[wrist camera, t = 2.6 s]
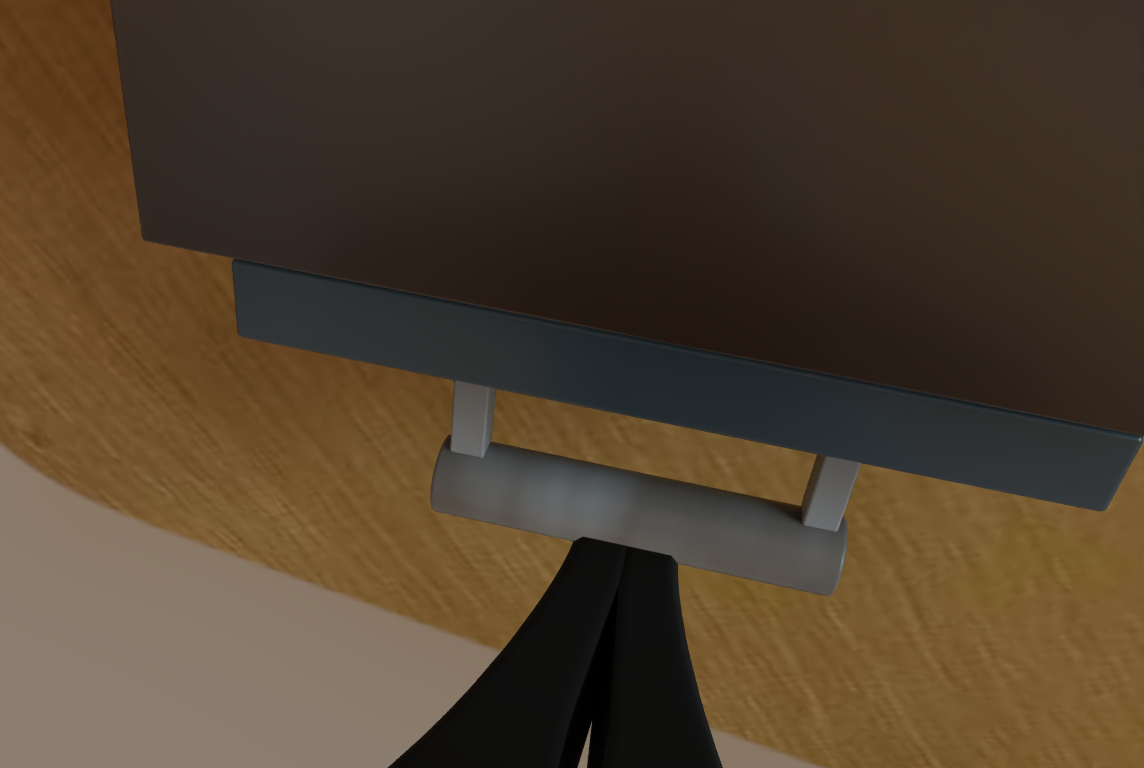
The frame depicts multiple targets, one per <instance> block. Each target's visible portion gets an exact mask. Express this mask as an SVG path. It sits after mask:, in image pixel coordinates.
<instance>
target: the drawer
mask: <svg viewBox="0 0 1144 768" xmlns="http://www.w3.org/2000/svg"><path fill="white" fill-rule="evenodd" d="M232 271H233V283H234V296H235V308H236V320H237V332H238V334H239V336H241V337H244V338H249V339H253V340H258V341H263V342H268V343H273V344H278V345H283V346H288V347H293V348H298V349H303V350H308V351H312V352H317V353H322V354H327V355H332V356H337V357H342V358H347V359H352V360H357V361H362V362H367V363H371V364H376V365H381V366H386V367H391V368H396V369H401V370H406V371H411V372H416V373H421V374H426V375H431V376H435V377H440V378H445V379H450V380H454V393H453V409H452V426H451V434H450V435H448V436H447V438H446V439H445V441H444V442H443V444H442V446H441V449H440V451H439V454H438V457H437V460H436V464H435V468H434V472H433V478H432V484H431V496H430V497H431V506H432V509H433V510H435V511H436V512H441V513H445V514H450V515H454V516H459V517H464V518H468V519H473V520H477V521H482V522H487V523H491V524H496V525H501V526H505V527H510V528H514V529H519V530H524V531H528V532H533V533H537V534H542V535H547V536H551V537H556V538H561V539H565V540H570V541H575V540H577V539H579V538H581V537H583V536H584V537H588V538H593V539H598V540H602V541H607V542H611V543H616V544H621V545H625V546H630V547H635V548H639V549H644V550H649V551H653V552H658V553H662V554H667V555H672V557H673V558H674V559H675V560H676V562H677V563H678V564H681V565H685V566H690V567H694V568H699V569H704V570H708V571H713V572H717V573H722V574H727V575H731V576H736V577H741V578H745V579H750V580H754V581H759V582H764V583H768V584H773V585H777V586H782V587H787V588H791V589H796V590H801V591H805V592H810V593H814V594H819V595H824V596H830V595H832V594H833V593H834V591H835V590H836V588H837V586H838V584H839V581H840V578H841V575H842V571H843V567H844V562H845V557H846V551H847V541H848V527H847V521H846V518H845V517H844V516H843V514H844V512H845V509H846V506H847V503H848V500H849V497H850V495H851V492H852V489H853V486H854V483H855V480H856V477H857V475H858V472H859V469H860V466H861V463H863V464H868V465H873V466H878V467H883V468H888V469H893V470H898V471H903V472H908V473H913V474H917V475H922V476H927V477H932V478H937V479H942V480H947V481H952V482H957V483H962V484H967V485H972V486H976V487H981V488H986V489H991V490H996V491H1001V492H1006V493H1011V494H1016V495H1021V496H1026V497H1031V498H1035V499H1040V500H1045V501H1050V502H1055V503H1060V504H1065V505H1070V506H1075V507H1080V508H1085V509H1090V510H1094V511H1104V510H1105V509H1107V507H1108V505H1109V503H1110V501H1111V500H1112V498H1113V496H1114V494H1115V492H1116V490H1117V488H1118V487H1119V485H1120V483H1121V481H1122V479H1123V477H1124V476H1125V474H1126V472H1127V470H1128V468H1129V466H1130V464H1131V463H1132V461H1133V459H1134V457H1135V455H1136V453H1137V452H1138V450H1139V448H1140V446H1141V444H1142V442H1143V436H1140V435H1135V434H1130V433H1125V432H1120V431H1114V430H1109V429H1104V428H1099V427H1094V426H1089V425H1084V424H1079V423H1074V422H1068V421H1063V420H1058V419H1053V418H1048V417H1043V416H1038V415H1033V414H1028V413H1022V412H1017V411H1012V410H1007V409H1002V408H997V407H992V406H987V405H982V404H976V403H971V402H966V401H961V400H956V399H951V398H946V397H941V396H935V395H930V394H925V393H920V392H915V391H910V390H905V389H900V388H895V387H889V386H884V385H879V384H874V383H869V382H864V381H859V380H854V379H849V378H843V377H838V376H833V375H828V374H823V373H818V372H813V371H808V370H803V369H797V368H792V367H787V366H782V365H777V364H772V363H767V362H762V361H756V360H751V359H746V358H741V357H736V356H731V355H726V354H721V353H716V352H710V351H705V350H700V349H695V348H690V347H685V346H680V345H675V344H670V343H664V342H659V341H654V340H649V339H644V338H639V337H634V336H629V335H624V334H618V333H613V332H608V331H603V330H598V329H593V328H588V327H583V326H577V325H572V324H567V323H562V322H557V321H552V320H547V319H542V318H537V317H531V316H526V315H521V314H516V313H511V312H506V311H501V310H496V309H491V308H485V307H480V306H475V305H470V304H465V303H460V302H455V301H450V300H444V299H439V298H434V297H429V296H424V295H419V294H414V293H409V292H404V291H398V290H393V289H388V288H383V287H378V286H373V285H368V284H363V283H358V282H352V281H347V280H342V279H337V278H332V277H327V276H322V275H317V274H312V273H306V272H301V271H296V270H291V269H286V268H281V267H276V266H271V265H265V264H260V263H255V262H250V261H245V260H240V259H235V258H234V259H233V261H232ZM496 389H499V390H504V391H509V392H514V393H519V394H524V395H529V396H534V397H539V398H544V399H549V400H553V401H558V402H563V403H568V404H573V405H578V406H583V407H588V408H593V409H598V410H603V411H608V412H612V413H617V414H622V415H627V416H632V417H637V418H642V419H647V420H652V421H657V422H662V423H667V424H672V425H676V426H681V427H686V428H691V429H696V430H701V431H706V432H711V433H716V434H721V435H726V436H731V437H735V438H740V439H745V440H750V441H755V442H760V443H765V444H770V445H775V446H780V447H785V448H790V449H794V450H799V451H804V452H809V453H814V454H817V457H816V460H815V463H814V466H813V469H812V472H811V475H810V479H809V482H808V485H807V488H806V491H805V494H804V497H803V501H802V506H798V505H793V504H788V503H783V502H779V501H774V500H769V499H764V498H759V497H755V496H750V495H745V494H740V493H735V492H731V491H726V490H721V489H716V488H711V487H707V486H702V485H697V484H692V483H687V482H683V481H678V480H673V479H668V478H663V477H659V476H654V475H649V474H644V473H640V472H635V471H630V470H625V469H620V468H616V467H611V466H606V465H601V464H596V463H592V462H587V461H582V460H577V459H572V458H568V457H563V456H558V455H553V454H548V453H544V452H539V451H534V450H529V449H524V448H520V447H515V446H510V445H505V444H501V443H496V442H491V439H492V430H493V418H494V407H495V396H496Z"/></svg>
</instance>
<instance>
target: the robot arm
mask: <svg viewBox="0 0 1144 768" xmlns="http://www.w3.org/2000/svg"><path fill="white" fill-rule="evenodd" d="M591 722H592V726H591V735H590V745H589V754H588V764H587V768H723V767H722V764H721V761H720V758H719V756H718V753H717V750H716V747H715V744H714V741H713V738H712V734H711V731H710V728H709V725H708V722H707V719H706V716H705V712H704V709H703V705H702V702H701V698H700V695H699V691H698V687H697V683H696V679H695V675H694V671H693V667H692V663H691V659H690V655H689V650H688V645H687V640H686V635H685V630H684V624H683V618H682V612H681V605H680V597H679V586H678V563H677V562H676V560H675V559H674V558H673V557H672V555H667V554H662V553H658V552H653V551H649V550H644V549H639V548H635V547H630V546H625V545H621V544H616V543H611V542H607V541H602V540H598V539H593V538H588V537H584V536H583V537H581V538H579V539H577V540H575V541H573V544H572V546H571V548H570V551H569V553H568V555H567V557H566V559H565V561H564V562H563V564H562V566H561V568H560V570H559V571H558V573H557V575H556V576H555V578H554V580H553V581H552V583H551V584H550V586H549V587H548V589H547V591H546V592H545V594H544V595H543V597H542V598H541V600H540V601H539V603H538V604H537V605H536V607H535V608H534V609H533V611H532V612H531V614H530V615H529V616H528V618H527V619H526V620H525V622H524V623H523V624H522V626H521V627H520V628H519V630H518V631H517V632H516V634H515V635H514V636H513V638H512V639H511V640H510V642H509V643H508V644H507V645H506V647H505V648H504V649H503V650H502V651H501V653H500V654H499V655H498V656H497V657H496V658H495V660H494V661H493V662H492V663H491V664H490V666H489V667H488V668H487V669H486V670H485V671H484V672H483V674H482V675H481V676H480V677H479V678H478V679H477V681H476V682H475V683H474V684H473V685H472V686H471V688H470V689H469V690H468V691H467V692H466V693H465V694H464V695H463V696H462V697H461V698H460V699H459V700H458V701H457V702H456V704H455V705H454V706H453V707H452V708H451V709H450V710H449V711H448V712H447V713H446V714H445V715H444V716H443V717H442V718H441V719H440V720H439V721H438V722H437V723H436V724H435V725H434V726H433V727H432V728H431V729H430V730H429V731H428V732H427V733H426V734H425V735H423V736H422V738H420V739H419V740H418V741H417V742H416V743H415V744H414V745H412V746H411V747H410V748H409V749H408V750H407V751H406V752H405V753H404V754H403V755H401V756H400V757H399V758H398V759H397V760H396V761H395V762H394V763H393V764H391V765H390V766H389V767H388V768H577V767H578V764H579V761H580V758H581V754H582V751H583V748H584V745H585V741H586V738H587V735H588V732H589V728H590V725H591Z"/></svg>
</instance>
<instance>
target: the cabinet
mask: <svg viewBox="0 0 1144 768" xmlns="http://www.w3.org/2000/svg"><path fill="white" fill-rule="evenodd" d="M110 3H111V10H112V18H113V25H114V32H115V40H116V47H117V54H118V62H119V69H120V77H121V84H122V91H123V99H124V106H125V113H126V121H127V128H128V136H129V143H130V150H131V158H132V165H133V173H134V180H135V187H136V195H137V202H138V209H139V217H140V224H141V232H142V238H143V240H145V241H148V242H153V243H158V244H163V245H168V246H173V247H179V248H184V249H189V250H194V251H199V252H204V253H209V254H214V255H219V256H225V257H230V258H235V259H240V260H245V261H250V262H255V263H260V264H265V265H271V266H276V267H281V268H286V269H291V270H296V271H301V272H306V273H312V274H317V275H322V276H327V277H332V278H337V279H342V280H347V281H352V282H358V283H363V284H368V285H373V286H378V287H383V288H388V289H393V290H398V291H404V292H409V293H414V294H419V295H424V296H429V297H434V298H439V299H444V300H450V301H455V302H460V303H465V304H470V305H475V306H480V307H485V308H491V309H496V310H501V311H506V312H511V313H516V314H521V315H526V316H531V317H537V318H542V319H547V320H552V321H557V322H562V323H567V324H572V325H577V326H583V327H588V328H593V329H598V330H603V331H608V332H613V333H618V334H624V335H629V336H634V337H639V338H644V339H649V340H654V341H659V342H664V343H670V344H675V345H680V346H685V347H690V348H695V349H700V350H705V351H710V352H716V353H721V354H726V355H731V356H736V357H741V358H746V359H751V360H756V361H762V362H767V363H772V364H777V365H782V366H787V367H792V368H797V369H803V370H808V371H813V372H818V373H823V374H828V375H833V376H838V377H843V378H849V379H854V380H859V381H864V382H869V383H874V384H879V385H884V386H889V387H895V388H900V389H905V390H910V391H915V392H920V393H925V394H930V395H935V396H941V397H946V398H951V399H956V400H961V401H966V402H971V403H976V404H982V405H987V406H992V407H997V408H1002V409H1007V410H1012V411H1017V412H1022V413H1028V414H1033V415H1038V416H1043V417H1048V418H1053V419H1058V420H1063V421H1068V422H1074V423H1079V424H1084V425H1089V426H1094V427H1099V428H1104V429H1109V430H1114V431H1120V432H1125V433H1130V434H1135V435H1140V436H1144V0H110Z"/></svg>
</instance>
